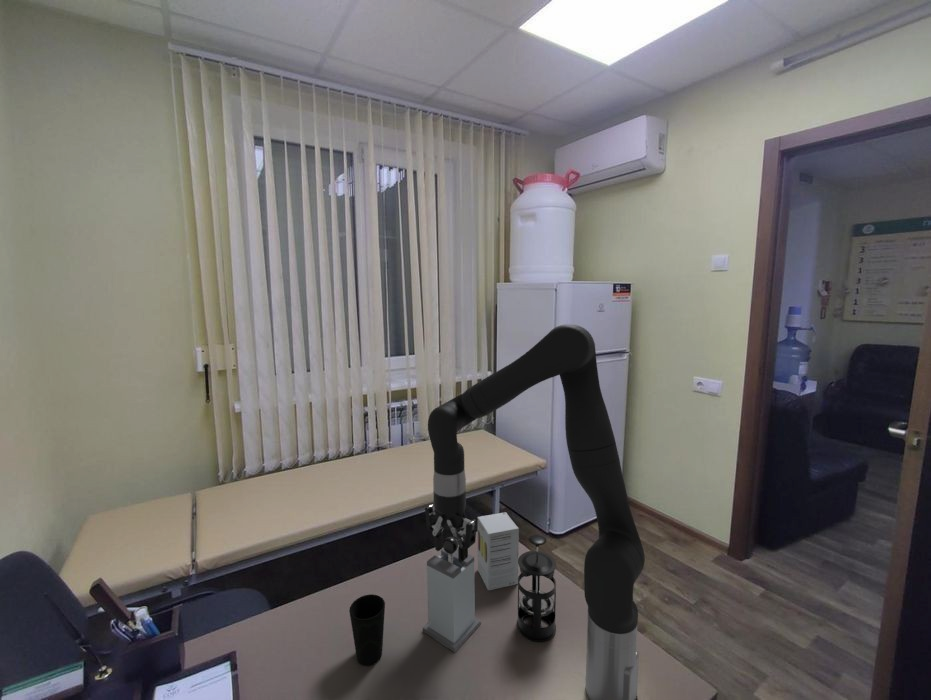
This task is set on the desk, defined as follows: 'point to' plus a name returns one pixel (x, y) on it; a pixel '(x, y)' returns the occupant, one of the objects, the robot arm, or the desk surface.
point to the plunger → (450, 547)
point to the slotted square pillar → (451, 600)
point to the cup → (368, 628)
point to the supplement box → (498, 550)
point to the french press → (536, 593)
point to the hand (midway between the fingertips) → (450, 554)
